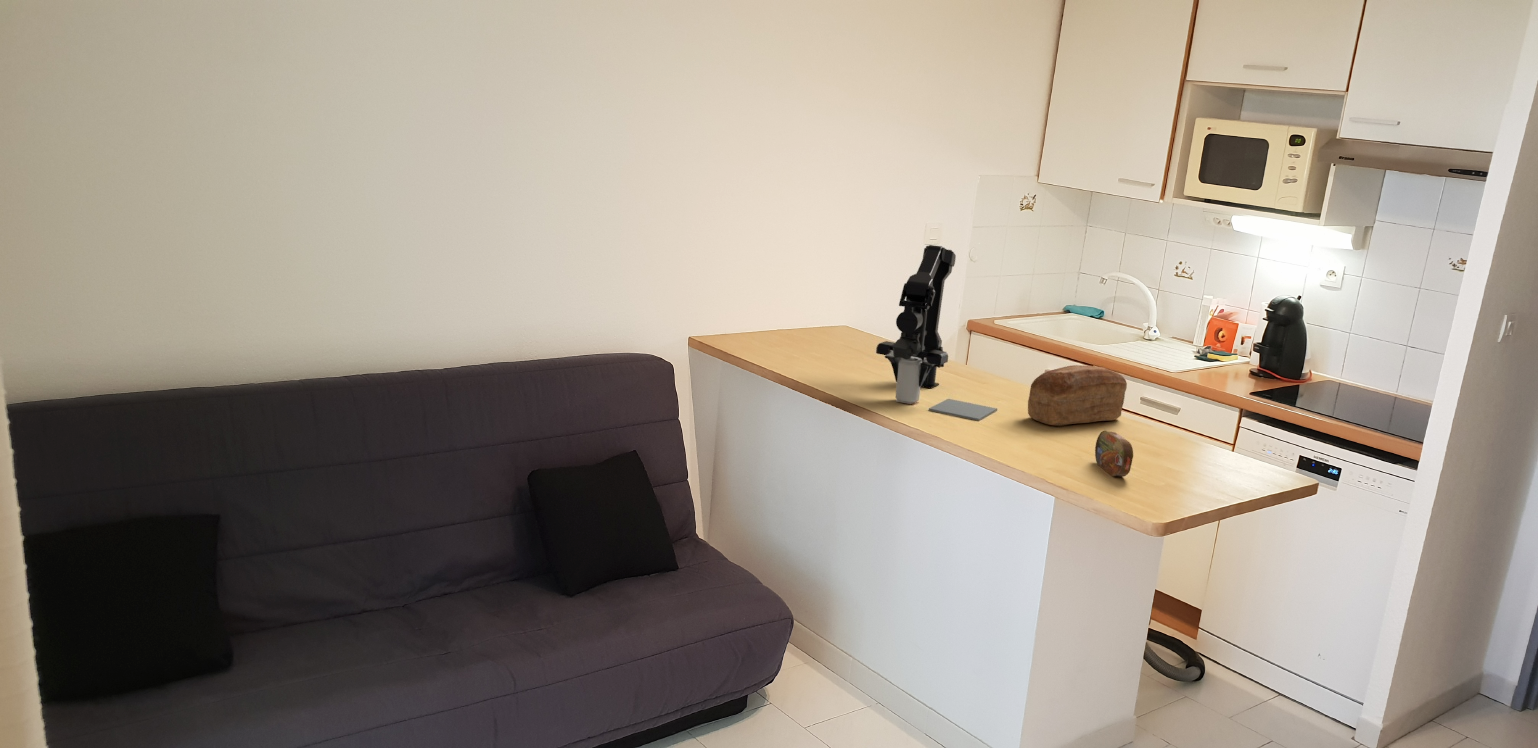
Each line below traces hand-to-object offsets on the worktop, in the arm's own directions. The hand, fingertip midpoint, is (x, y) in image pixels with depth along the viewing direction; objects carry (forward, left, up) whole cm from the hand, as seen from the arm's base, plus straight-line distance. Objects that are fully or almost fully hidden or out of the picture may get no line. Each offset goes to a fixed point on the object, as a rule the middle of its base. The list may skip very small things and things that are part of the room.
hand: (908, 384), depth 288 cm
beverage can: (0, 0, -5) cm, 5 cm away
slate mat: (-3, +15, -5) cm, 16 cm away
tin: (+22, +60, -5) cm, 64 cm away
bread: (-17, +41, -5) cm, 45 cm away
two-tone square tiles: (0, 0, -5) cm, 5 cm away
